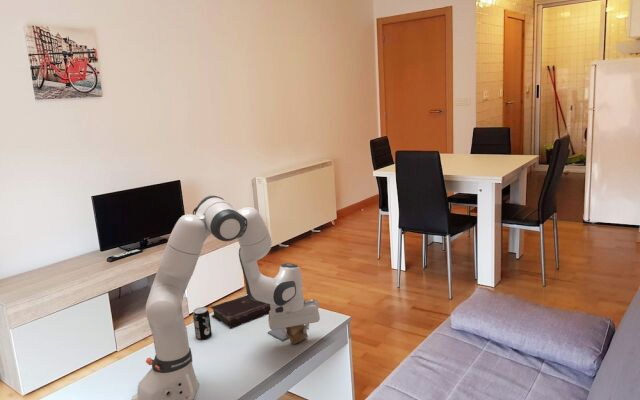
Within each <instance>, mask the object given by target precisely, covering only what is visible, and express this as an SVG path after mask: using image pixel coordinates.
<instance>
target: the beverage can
mask: <svg viewBox="0 0 640 400" xmlns="http://www.w3.org/2000/svg"><path fill="white" fill-rule="evenodd" d="M192 319H193V325H194V333H195V338H197V339H198V340H201V341H202V340H207V339H209V338H210V337H211V336H212V334H213V333H212V324H211V318H210V311H209V309H208V307H205V306H201V307H197V308H195V309H194V310H193V313H192Z"/></svg>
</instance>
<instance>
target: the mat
mask: <svg viewBox="0 0 640 400" xmlns="http://www.w3.org/2000/svg"><path fill="white" fill-rule="evenodd" d="M304 326H305V324H304ZM309 327H310V326H309ZM309 327H308V329H307V330H309V329H310V328H309ZM284 331H285V332H286V331H287V330H286V328H285V330H284ZM267 335H269V336H271V337H273V338H275V339H277V340H279V341H281V342H285V341H287V340H290V339H289V336H288V337H286V338H285V337H284V333H283V332H282V331H281V329H275V330H271V329H270V330H269V331H267Z"/></svg>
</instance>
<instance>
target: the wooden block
mask: <svg viewBox="0 0 640 400" xmlns="http://www.w3.org/2000/svg"><path fill="white" fill-rule="evenodd" d="M304 325H305V324H304ZM304 325H298V326H292V327H287V328H286V330H287V332H288V336H289V339H288V340H289V342H290V345H296V344H298V343H299V342H301V341H303V340H305V339H306V338H308V337H309V336H308V333H307V334H303V330H302V329H303V328H305V326H304Z"/></svg>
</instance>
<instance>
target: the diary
mask: <svg viewBox="0 0 640 400" xmlns="http://www.w3.org/2000/svg"><path fill="white" fill-rule="evenodd" d="M211 309H212V310H213V315H211V317H212V318H213V319H214V320H216V321H218V322H220V323H221V322H222V323H223V324H225V325H227V326H229V327H228V328H229V329H230V330H231V329H233V328H236V327H238V326H241V325H244V324H246V323H248V322H250V321H254V320H256V319H259V318H261V317H264V316H265V315H269V311H270V310H271V308H270V304H268V303H265V302H261V301H254V300H251V299H250V298H249V297H248V295H247V294H246V295H242V296H240V297H238V298H234V299H231V300H227V301H224V302H221V303H218V304H215V305H213V306H210V310H211Z"/></svg>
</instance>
